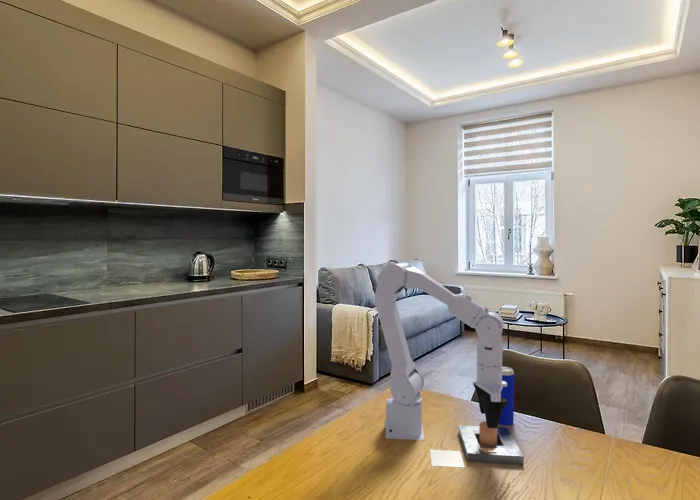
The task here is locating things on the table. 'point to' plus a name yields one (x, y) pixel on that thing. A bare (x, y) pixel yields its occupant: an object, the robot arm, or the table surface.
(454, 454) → the tile
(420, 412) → the robot arm
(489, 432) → the peg
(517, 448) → the hole plate
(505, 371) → the beverage can
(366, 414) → the table surface
